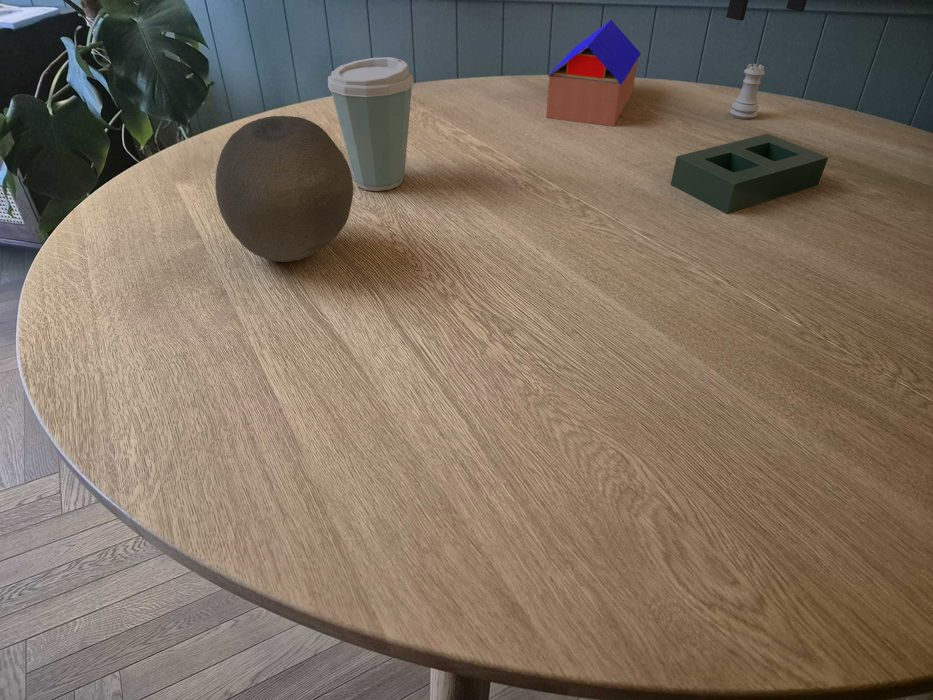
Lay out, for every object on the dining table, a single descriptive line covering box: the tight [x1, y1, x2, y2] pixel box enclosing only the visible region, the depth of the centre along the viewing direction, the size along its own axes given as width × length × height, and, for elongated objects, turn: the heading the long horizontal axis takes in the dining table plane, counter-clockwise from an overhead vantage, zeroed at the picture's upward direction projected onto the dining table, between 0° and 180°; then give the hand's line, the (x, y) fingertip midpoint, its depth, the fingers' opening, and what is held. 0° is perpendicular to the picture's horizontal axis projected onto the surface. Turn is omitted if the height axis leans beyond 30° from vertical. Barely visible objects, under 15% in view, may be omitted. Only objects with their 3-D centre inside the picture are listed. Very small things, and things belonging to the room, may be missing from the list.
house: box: [545, 19, 641, 127], centre depth 112 cm, size 12×20×12 cm, turn 160°
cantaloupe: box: [215, 115, 354, 263], centre depth 69 cm, size 14×14×15 cm
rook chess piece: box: [729, 63, 766, 120], centre depth 109 cm, size 4×4×8 cm
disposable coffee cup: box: [327, 56, 415, 192], centre depth 85 cm, size 11×11×15 cm
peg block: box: [670, 132, 829, 214], centre depth 88 cm, size 18×10×4 cm, turn 120°
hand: (765, 14), depth 101 cm, fingers open, 13 cm apart
